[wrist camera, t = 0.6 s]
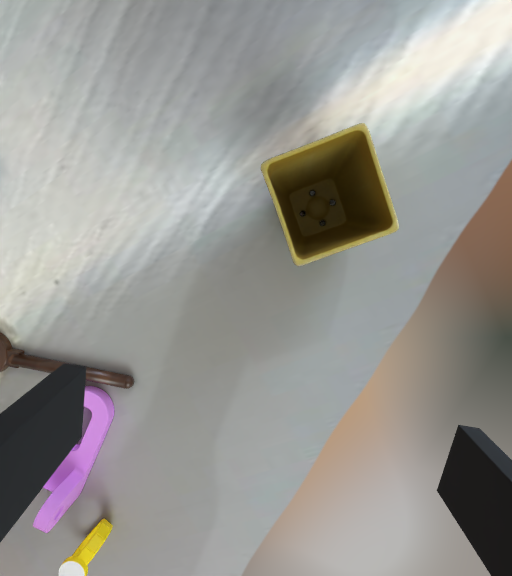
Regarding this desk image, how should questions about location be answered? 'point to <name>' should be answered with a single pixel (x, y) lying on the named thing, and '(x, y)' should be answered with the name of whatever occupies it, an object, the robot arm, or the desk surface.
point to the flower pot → (330, 195)
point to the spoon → (55, 366)
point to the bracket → (77, 461)
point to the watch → (86, 551)
